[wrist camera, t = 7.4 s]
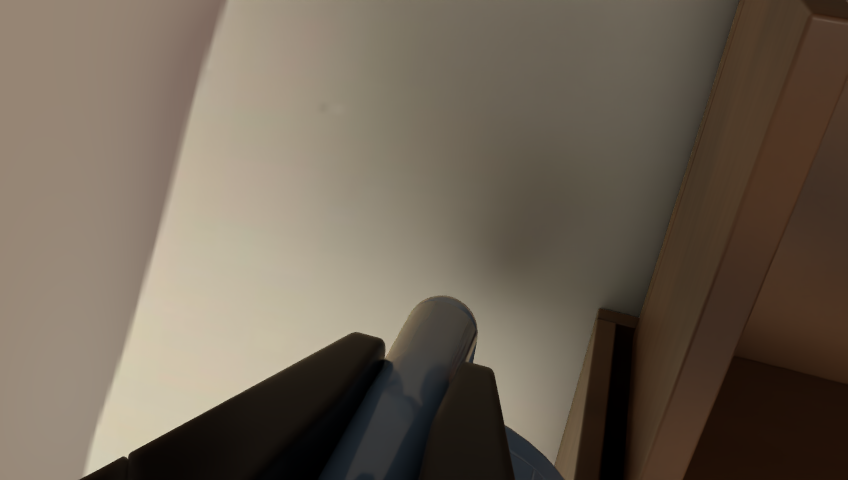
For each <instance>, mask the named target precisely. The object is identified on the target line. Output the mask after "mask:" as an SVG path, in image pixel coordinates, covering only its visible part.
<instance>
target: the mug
mask: <svg viewBox="0 0 848 480" xmlns="http://www.w3.org/2000/svg"><path fill="white" fill-rule="evenodd" d="M477 335H478V330H477V323H476V320H475V317H474V315H473V313H472V312H471V311H470V309H469V308H468V307H467V306H466V305H465V304H464V303H462V302H461V301H459V300H458V299H456V298H453V297H450V296H434V297H430V298H427V299H425V300H423V301H422V302H420V303H419V304H417V305H416V307H415V308H414V309H413V310H412V311H411V313H410V315H409V316H408V318H407V320H406V322H405V323H404V325H403V327H402V329H401V331H400V332H399V334H398V336H397V338H396V340H395V341H394V343H393V345H392V347H391V349H390V350H389V352H388V354H387V356H386V358H385V359H384V361H383V363H382V365H381V367H380V368H379V370H378V372H377V374H376V376H375V377H374V379H373V381H372V383H371V385H370V386H369V388H368V390H367V392H366V394H365V395H364V397H363V399H362V401H361V402H360V404H359V406H358V408H357V410H356V411H355V413H354V415H353V417H352V419H351V420H350V422H349V424H348V426H347V428H346V429H345V431H344V433H343V435H342V437H341V438H340V440H339V442H338V444H337V445H336V447H335V449H334V451H333V453H332V454H331V456H330V458H329V460H328V462H327V463H326V465H325V467H324V469H323V471H322V472H321V474H320V476H319V478H318V479H317V480H418V478H419V473H420V469H421V464H422V460H423V456H424V451H425V447H426V442H427V438H428V434H429V430H430V427H431V424H432V421H433V419H434V416H435V414H436V412H437V410H438V408H439V406H440V403H441V401H442V399H443V397H444V395H445V393H446V391H447V389H448V387H449V385H450V383H451V381H452V379H453V377H454V375H455V372H456V370H457V368H458V366H459V365H460V364H461V363H462V362H465V361H466V362H470V363H473V359H474V354H475V348H476V343H477ZM505 430H506V435H507V440H508V445H509V450H510V456H511V461H512V466H513V471H514V476H515V480H564V478H563V477H562V475H561V474H560V473H559V471H558V470H557V469H556V468H555V467H554V466H553V465H552V463H551V462H550V461H549V460H548V459H547V458H546V457H545V456H544V455H543V454H542V453H541V452H540V451H539V450H538V449H536V448H535V447H534V446H533V445H532V444H531V443H530V442H529V441H527V440H526V439H524V438H523V437H522V436H520V435H519V434H517V433H516V432H515V431H513V430H512V429H510V428H509V427H507V426H505Z"/></svg>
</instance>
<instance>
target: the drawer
mask: <svg viewBox="0 0 848 480" xmlns="http://www.w3.org/2000/svg"><path fill="white" fill-rule="evenodd" d="M623 480H848V0H740V1H739V4H738V7H737V11H736V14H735V17H734V20H733V23H732V26H731V29H730V33H729V36H728V39H727V42H726V45H725V48H724V52H723V55H722V58H721V61H720V64H719V67H718V71H717V74H716V77H715V80H714V83H713V86H712V89H711V93H710V96H709V99H708V102H707V105H706V108H705V112H704V115H703V118H702V121H701V124H700V127H699V131H698V134H697V137H696V140H695V143H694V146H693V149H692V153H691V156H690V159H689V162H688V165H687V168H686V172H685V175H684V178H683V181H682V184H681V187H680V191H679V194H678V197H677V200H676V203H675V206H674V209H673V213H672V216H671V219H670V222H669V225H668V228H667V232H666V235H665V238H664V241H663V244H662V247H661V251H660V254H659V257H658V260H657V263H656V266H655V270H654V273H653V276H652V279H651V282H650V285H649V288H648V292H647V295H646V298H645V301H644V304H643V307H642V311H641V314H640V317H639V320H638V323H637V326H636V330H635V333H634V336H633V346H632V361H631V375H630V389H629V403H628V416H627V430H626V444H625V458H624V472H623Z"/></svg>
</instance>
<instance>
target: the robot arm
mask: <svg viewBox="0 0 848 480" xmlns="http://www.w3.org/2000/svg"><path fill="white" fill-rule="evenodd" d="M384 359H385V343H384V341H383V340H382V339H381V338H378V337H374V336H370V335H367V334H363V333H359V332H354V333H351V334H349V335H347V336H345V337H343V338H341V339H340V340H338V341H336V342H334V343H332V344H330V345H328V346H327V347H325V348H323V349H321V350H319V351H317V352H316V353H314V354H312V355H310V356H308V357H306V358H304V359H303V360H301V361H299V362H297V363H295V364H293V365H292V366H290V367H288V368H286V369H284V370H282V371H280V372H279V373H277V374H275V375H273V376H271V377H269V378H267V379H266V380H264V381H262V382H260V383H258V384H256V385H255V386H253V387H251V388H249V389H247V390H245V391H243V392H242V393H240V394H238V395H236V396H234V397H232V398H231V399H229V400H227V401H225V402H223V403H221V404H219V405H218V406H216V407H214V408H212V409H210V410H208V411H207V412H205V413H203V414H201V415H199V416H197V417H195V418H194V419H192V420H190V421H188V422H186V423H184V424H183V425H181V426H179V427H177V428H175V429H173V430H171V431H170V432H168V433H166V434H164V435H162V436H160V437H159V438H157V439H155V440H153V441H151V442H149V443H147V444H146V445H144V446H142V447H140V448H138V449H136V450H135V451H133V452H131V453H130V454H129V456H128V459H127V458H126V457H121V458H119V459H117V460H116V461H114V462H112V463H110V464H108V465H106V466H104V467H103V468H101V469H99V470H97V471H95V472H93V473H91V474H89V475H88V476H86V477H84V478H82V479H80V480H317V479H318V478H319V476H320V474H321V472H322V471H323V469H324V467H325V465H326V463H327V462H328V460H329V458H330V456H331V454H332V453H333V451H334V449H335V447H336V445H337V444H338V442H339V440H340V438H341V437H342V435H343V433H344V431H345V429H346V428H347V426H348V424H349V422H350V420H351V419H352V417H353V415H354V413H355V411H356V410H357V408H358V406H359V404H360V402H361V401H362V399H363V397H364V395H365V394H366V392H367V390H368V388H369V386H370V385H371V383H372V381H373V379H374V377H375V376H376V374H377V372H378V370H379V368H380V367H381V365H382V363H383V361H384ZM418 480H515V476H514V471H513V466H512V461H511V456H510V450H509V445H508V440H507V435H506V430H505V425H504V420H503V415H502V410H501V405H500V400H499V395H498V390H497V385H496V380H495V375H494V372H493V370H492V369H491V368H489V367H485V366H482V365H478V364H474V363H470V362H466V361H465V362H462V363H461V364H460V365H459V366H458V368H457V370H456V372H455V375H454V377H453V379H452V381H451V383H450V385H449V387H448V389H447V391H446V393H445V395H444V397H443V399H442V401H441V403H440V406H439V408H438V410H437V412H436V414H435V416H434V419H433V421H432V424H431V427H430V430H429V434H428V438H427V442H426V447H425V451H424V456H423V460H422V464H421V469H420V473H419V478H418Z"/></svg>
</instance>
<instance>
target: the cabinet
mask: <svg viewBox="0 0 848 480" xmlns="http://www.w3.org/2000/svg"><path fill="white" fill-rule="evenodd" d="M638 320H639V318H638V317H634V316H630V315H626V314H622V313H618V312H614V311H610V310H606V309H602V308H599V309H598V312H597V316H596V320H595V323H594V327H593V330H592V334H591V338H590V341H589V345H588V348H587V352H586V355H585V359H584V363H583V366H582V370H581V373H580V377H579V380H578V384H577V388H576V391H575V395H574V398H573V402H572V405H571V409H570V413H569V416H568V420H567V423H566V427H565V430H564V434H563V438H562V441H561V445H560V448H559V452H558V455H557V459H556V463H555V466H554V467H555V468H556V469H557V470H558V471H559V473H560V474H561V475H562V477H563V478H564V480H623V472H624V458H625V444H626V430H627V416H628V403H629V389H630V375H631V361H632V346H633V336H634V333H635V330H636V326H637V323H638Z"/></svg>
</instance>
